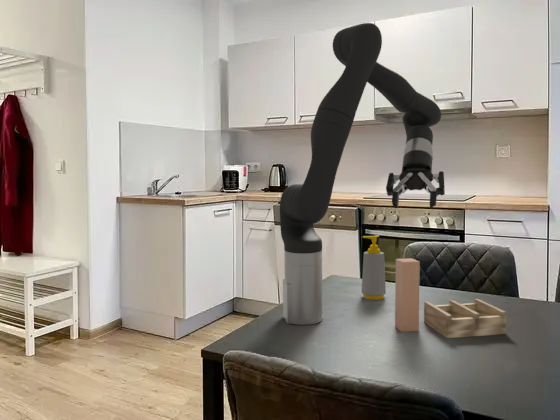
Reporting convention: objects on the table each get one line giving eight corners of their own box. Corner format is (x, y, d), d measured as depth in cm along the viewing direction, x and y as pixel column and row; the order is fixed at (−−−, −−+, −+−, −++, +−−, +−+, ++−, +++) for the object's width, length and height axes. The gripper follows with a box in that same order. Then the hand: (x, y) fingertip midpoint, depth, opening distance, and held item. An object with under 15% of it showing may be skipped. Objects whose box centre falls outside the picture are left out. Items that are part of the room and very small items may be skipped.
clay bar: (402, 332, 108) (402, 262, 106) (394, 326, 112) (395, 259, 110) (418, 330, 108) (419, 261, 107) (411, 325, 112) (412, 258, 111)
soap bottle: (356, 295, 139) (357, 234, 138) (378, 293, 141) (378, 233, 140) (368, 301, 133) (368, 237, 131) (390, 299, 135) (391, 236, 133)
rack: (447, 338, 104) (447, 315, 103) (423, 322, 114) (424, 301, 114) (505, 333, 106) (506, 311, 105) (477, 318, 117) (478, 298, 116)
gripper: (388, 150, 127) (382, 197, 118) (445, 147, 122) (443, 196, 113) (392, 169, 133) (386, 215, 123) (446, 167, 127) (444, 215, 118)
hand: (413, 206), depth 118 cm, fingers open, 8 cm apart
